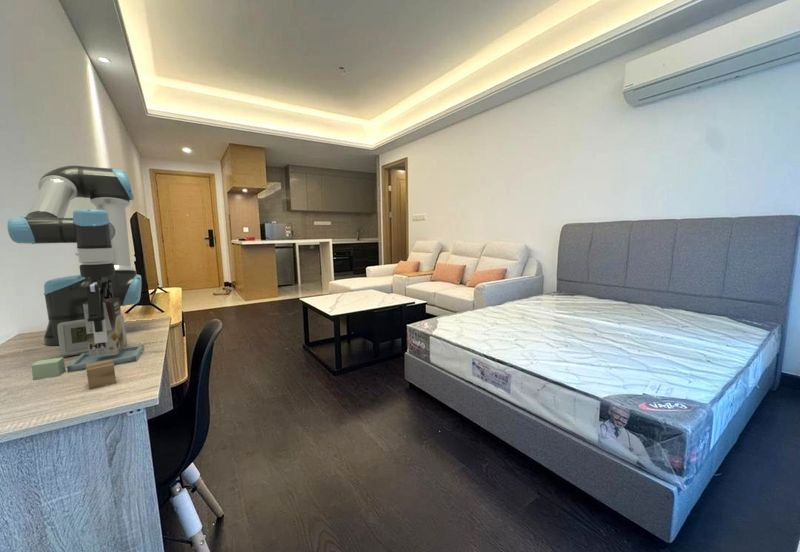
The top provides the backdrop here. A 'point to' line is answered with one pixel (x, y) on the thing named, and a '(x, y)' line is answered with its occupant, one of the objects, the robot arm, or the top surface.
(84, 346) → the digital clock
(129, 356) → the tray
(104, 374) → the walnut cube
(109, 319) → the coffee box
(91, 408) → the top surface
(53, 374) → the sage block
